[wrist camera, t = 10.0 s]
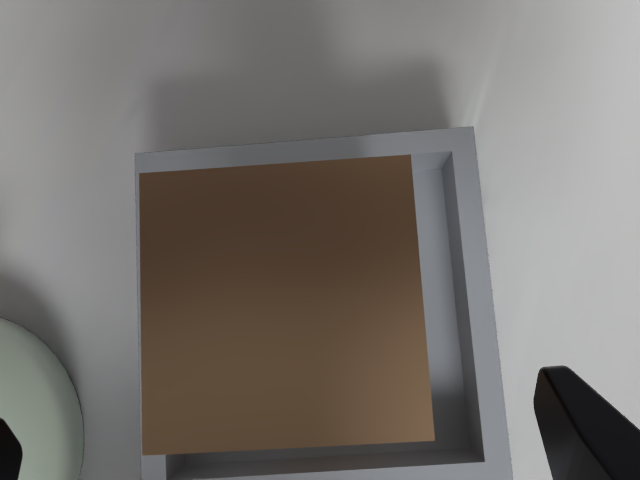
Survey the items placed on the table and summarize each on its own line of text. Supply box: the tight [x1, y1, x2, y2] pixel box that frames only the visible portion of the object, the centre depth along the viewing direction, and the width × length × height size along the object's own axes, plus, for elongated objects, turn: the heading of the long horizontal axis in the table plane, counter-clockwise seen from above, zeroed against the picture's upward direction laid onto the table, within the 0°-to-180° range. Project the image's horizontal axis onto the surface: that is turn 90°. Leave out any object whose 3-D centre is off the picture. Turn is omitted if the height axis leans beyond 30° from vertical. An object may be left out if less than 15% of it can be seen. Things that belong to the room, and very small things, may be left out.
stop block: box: [139, 154, 435, 456], centre depth 16 cm, size 5×5×11 cm
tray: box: [135, 126, 513, 480], centre depth 20 cm, size 12×12×3 cm
